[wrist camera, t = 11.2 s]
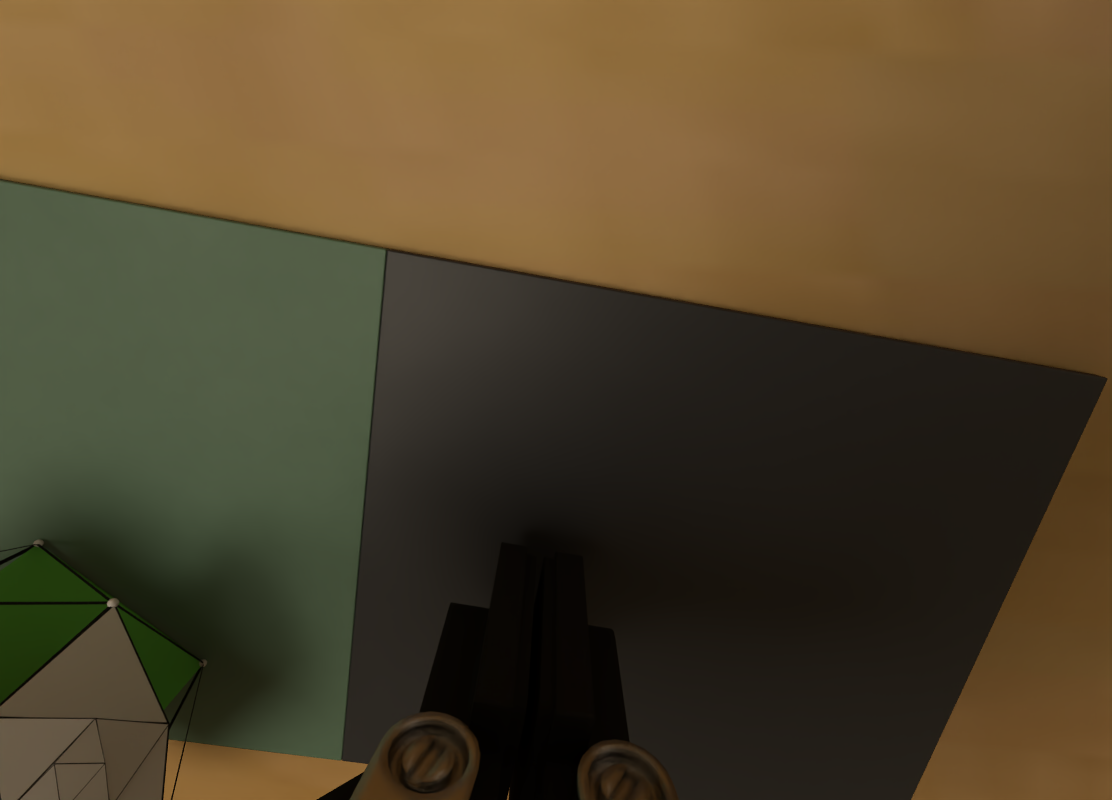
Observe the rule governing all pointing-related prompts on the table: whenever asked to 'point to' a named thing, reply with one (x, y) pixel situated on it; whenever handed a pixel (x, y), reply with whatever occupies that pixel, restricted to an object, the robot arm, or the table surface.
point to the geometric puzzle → (82, 687)
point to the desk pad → (513, 487)
